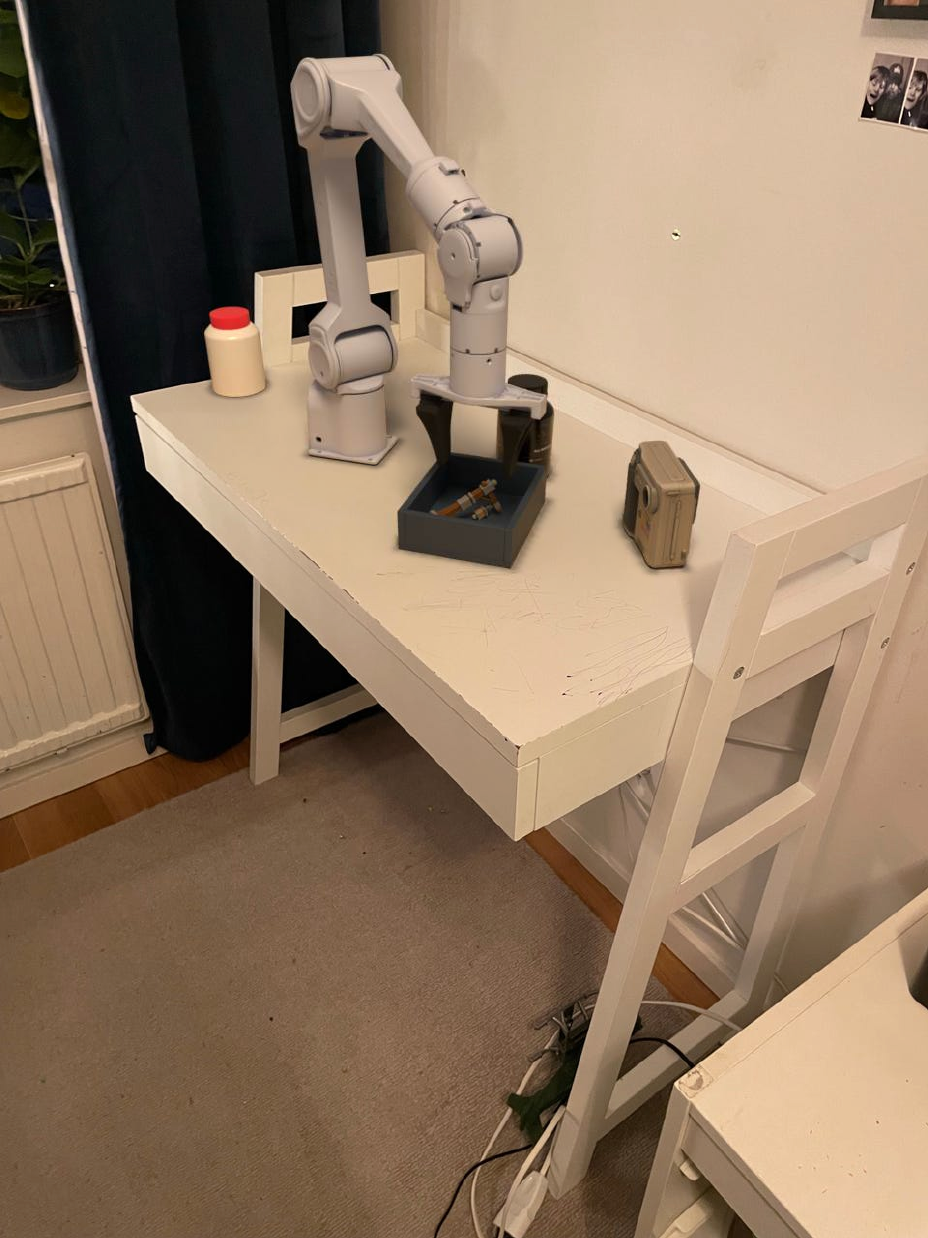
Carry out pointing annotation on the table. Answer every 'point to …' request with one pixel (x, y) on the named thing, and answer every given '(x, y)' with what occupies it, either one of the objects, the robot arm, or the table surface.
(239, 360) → the pill bottle
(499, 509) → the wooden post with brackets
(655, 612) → the table surface
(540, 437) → the supplement bottle
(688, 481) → the camera
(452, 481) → the bin
